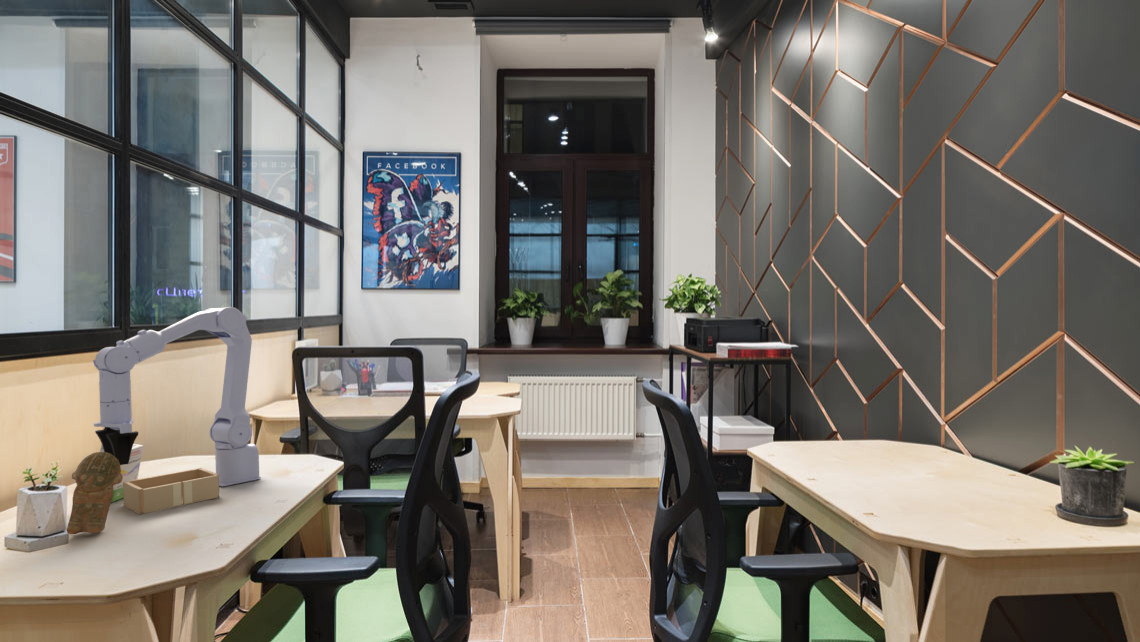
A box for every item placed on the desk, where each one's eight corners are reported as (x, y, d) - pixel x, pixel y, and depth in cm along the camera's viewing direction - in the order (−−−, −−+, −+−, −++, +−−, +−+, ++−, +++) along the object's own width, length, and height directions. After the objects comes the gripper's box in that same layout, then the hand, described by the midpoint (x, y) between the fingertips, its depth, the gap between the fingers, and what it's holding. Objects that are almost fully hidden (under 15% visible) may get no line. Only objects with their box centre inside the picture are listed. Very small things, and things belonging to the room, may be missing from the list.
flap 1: (180, 504, 144) (179, 482, 144) (182, 505, 143) (181, 482, 143) (143, 512, 138) (142, 489, 138) (144, 513, 138) (143, 489, 138)
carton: (201, 489, 157) (200, 467, 157) (219, 497, 150) (218, 474, 150) (123, 505, 145) (123, 482, 145) (139, 514, 138) (138, 489, 138)
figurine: (65, 541, 122) (63, 461, 122) (74, 529, 129) (72, 454, 129) (119, 534, 126) (117, 456, 125) (126, 522, 133) (123, 449, 133)
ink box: (112, 503, 147) (123, 438, 147) (90, 499, 147) (101, 435, 147) (136, 493, 156) (147, 432, 156) (115, 489, 156) (126, 428, 156)
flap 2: (217, 496, 150) (216, 475, 150) (218, 497, 149) (218, 475, 149) (182, 504, 144) (181, 481, 144) (184, 504, 144) (183, 482, 143)
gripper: (84, 400, 145) (86, 461, 145) (103, 405, 136) (105, 470, 136) (122, 397, 151) (123, 455, 151) (142, 401, 141) (144, 464, 141)
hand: (117, 462), depth 144 cm, fingers open, 6 cm apart
